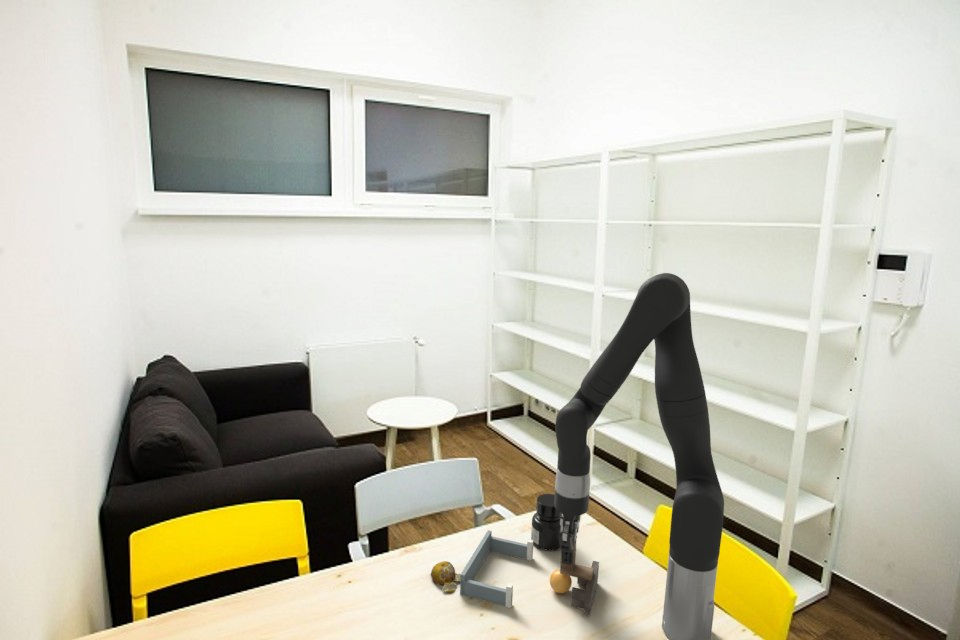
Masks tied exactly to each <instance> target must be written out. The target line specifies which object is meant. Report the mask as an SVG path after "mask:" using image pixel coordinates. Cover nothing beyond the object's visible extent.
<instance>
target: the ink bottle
mask: <svg viewBox="0 0 960 640" xmlns="http://www.w3.org/2000/svg"><path fill="white" fill-rule="evenodd" d="M554 499H555V493H554V494H553V493H543V494H540V495H539V496H537V499H536V506H535V507H536V512H535V513H534V514H533V515H532V518H531V533H530V537H531V538H530V539H531V540H533V546H534V547H536V548H538V549H541V550H544V551H549V552H550V551H551V552H552V551H557V550H560V543H559V532H560V531H561V525H560V518H561V517H562V515H563V514H562V513H560V512H559V511H558V510H557V509H556V508H555V506H554Z"/></svg>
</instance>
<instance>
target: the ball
mask: <svg viewBox="0 0 960 640" xmlns="http://www.w3.org/2000/svg"><path fill="white" fill-rule="evenodd" d="M572 583H573V582H572V576H569V575H565V574H560V568H559V569H555V570H554V571H552V573H551V574H550V577H549V584H550V587H551V589H552V590H553V591H554V592H555V593H557V594H565V593H567V592H568V591H569V590H571V587H572Z"/></svg>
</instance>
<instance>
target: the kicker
mask: <svg viewBox="0 0 960 640" xmlns="http://www.w3.org/2000/svg"><path fill="white" fill-rule="evenodd" d="M573 534H574V533H573ZM571 535H572V534H571ZM577 539H578V535H576V539H575V541H574V543H573V547H574V548H573V552H572V563H571V565H568V564H563V563H562V550H560V566H559V567H560V568H559V569H560V574H565V575H569V576H570V577H573V578H577V581H576V583H577V584H578V585H582V586H586V587H585V589H584V588H583V589H582V588H580V587H575V586H571V587H572V588H571V596H570V597H571V598H570V599H571V600H570V606H571V607H573V608H578V609H581V610H583V613H582V614H583V615H586V616H591V613H592V612H591V611H592V608H593V603H594V599H595V595H596V590H597V586H598V583H599V582H598V581H599V569H600V568H599V564H600V561H596V560H592V563H591V566H586V565H582V564H578V563H576V553H577V552H576V551H577V549H576V548H577Z"/></svg>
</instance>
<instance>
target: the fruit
mask: <svg viewBox="0 0 960 640" xmlns="http://www.w3.org/2000/svg"><path fill="white" fill-rule="evenodd" d="M460 574H461V573H456V568H455V566H453V564H452V563H451V562H450V561H448V560H447V561H445V560H444V561H441V562H437V563H436V564H435V565H433V567H432V569H431V572H430V577H431V579H432V580H433V582H434V583H435V584H438V585H439V586H442V585H443V587H442V589H441V590H442V592H443V593H449V594H453V593H455V592H457V591H456V589H457V586H458V584H457V583H455V582H460Z"/></svg>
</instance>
